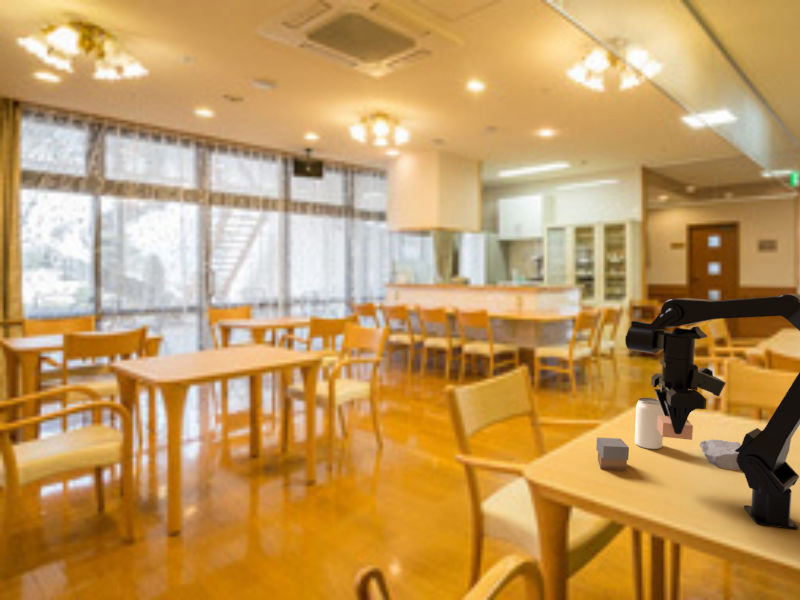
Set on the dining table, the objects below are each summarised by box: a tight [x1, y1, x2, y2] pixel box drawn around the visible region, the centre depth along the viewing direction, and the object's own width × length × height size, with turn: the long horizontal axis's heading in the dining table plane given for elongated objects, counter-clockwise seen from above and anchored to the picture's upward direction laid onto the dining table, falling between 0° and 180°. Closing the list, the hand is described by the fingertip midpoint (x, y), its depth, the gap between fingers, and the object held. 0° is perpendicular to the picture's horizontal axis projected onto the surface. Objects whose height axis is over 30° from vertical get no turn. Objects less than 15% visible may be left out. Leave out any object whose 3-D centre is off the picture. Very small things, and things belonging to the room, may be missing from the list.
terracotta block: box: [657, 415, 694, 441], centre depth 103 cm, size 6×6×3 cm
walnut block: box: [597, 451, 628, 473], centre depth 113 cm, size 6×6×3 cm
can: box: [634, 397, 664, 450], centre depth 126 cm, size 6×6×12 cm
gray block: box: [596, 436, 630, 461], centre depth 112 cm, size 6×6×3 cm
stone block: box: [699, 438, 742, 471], centre depth 117 cm, size 12×5×10 cm
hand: (674, 429), depth 103 cm, fingers closed on terracotta block, 5 cm apart
